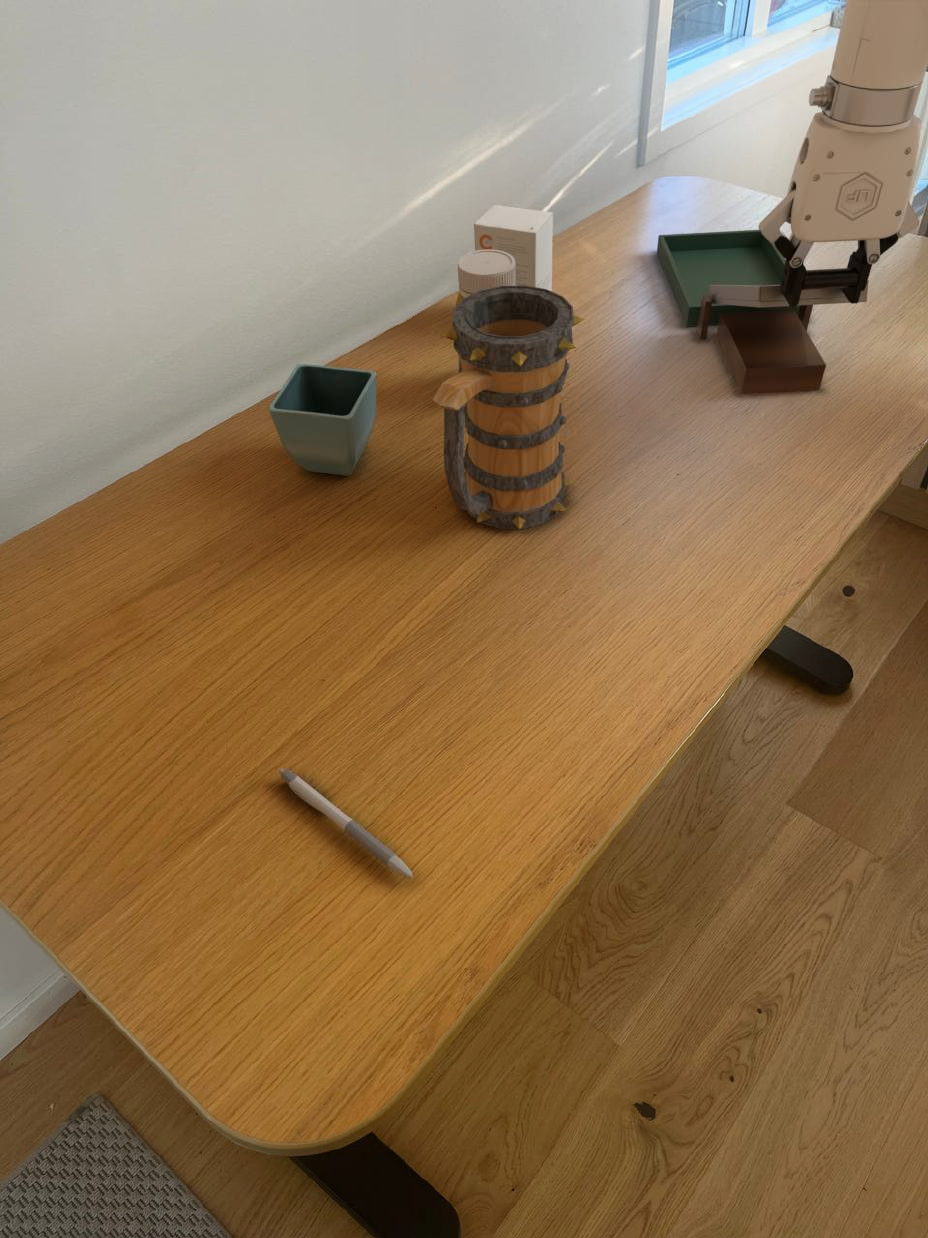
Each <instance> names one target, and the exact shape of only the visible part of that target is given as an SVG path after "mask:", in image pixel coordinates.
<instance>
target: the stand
mask: <svg viewBox="0 0 928 1238" xmlns="http://www.w3.org/2000/svg"><path fill="white" fill-rule="evenodd" d="M711 306H712V300H711V298H710V296H709V294H702V300H701V307H700V313H699V320H698V326H696V334H697V337H698V338H699V340H707V337H708V330H709V326H708V325H709V319H710V313H711ZM813 307H814V305H800V309H799V313H798V316H797V314H796V313H795V311H794V309H790V310H771V311H752V312H734V313H720V317H719V323H718V325H717V328H716V335H715V338H716V340H717V342H718V345H719V347H720V349H721V351H722V353H723V355H724V358H725V360H726V362H727V364H728V367H729V370H730V372H731V373H732V376H733V378H734V380H735V383H736V385H737V387H738V389H739V391H740V394H758V393H759V394H760V393H779V392H781V393H782V392H797V391H798V392H799V391H816V390H820V389H821V385H822V383H823V378H824V375H825V371H826V367H827V364H826V362H825V361H824V358H823V357H822V355H821V354H820V352H819V350H818V349H817V347H816V345H815V343H814V342H813V339H812V338H811V337H810V335H809V333H808V327H809V323H810V320H811V316H812V311H813Z"/></svg>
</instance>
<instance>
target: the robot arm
mask: <svg viewBox="0 0 928 1238" xmlns="http://www.w3.org/2000/svg"><path fill="white" fill-rule="evenodd" d="M927 68H928V0H846V1H845V6H844V11H843V14H842V19H841V24H840V28H839V33H838V37H837V42H836V46H835V51H834V55H833V60H832V64H831V69H830V74H829V75H827V76H826V81H825V83H824V85H821V86H820V87H818V88H817V87H816V88H811V89H810V92H809V95H808V104H809V106H810V107H815V106H816V107H818V108H820V110H821V112H816V113H814V115H813V118H812V120H811V122H810V124H809V126H808V129H807V131H806V133H805V136H804V138H803V141H802V144H801V147H800V149H799V151H798V155H797V158H796V161H795V164H794V167H793V171H792V173H791V174H792V175H791V177H790V181H789V185H788V189H787V192H786V196H785V197H784V198H783V199H782V200H781V201H780V202H778V204H777V205H776V206H775V207H774V208H773V209H772V210H771V211H770V212H769V213H768V214H767V215H766V216H765V217H764V218H763V219H762V220H761V221H760V222H759V224H758V226H757V227H758V230H760V232H761V233H762V235H763V236H764V237H765V238H766V239H767V240H768V241H769V242H770V243H771V244H773V245H774V246H775V247H776V248H777V250H778V251H779V252H780V253H781V255H782V256H783V257H784V258H785V260H786V261H785V266H784V270H783V275H782V279H781V284H780V292H781V294H782V295H784V297H785V299H786V300H787V302H788V304H789V306H790V307H793V306H796V305H798V303H799V299H800V295H801V291H802V287H803V283H804V279H805V274H806V270H807V267H806V266H805V264H804V263H805V259H806V258H807V256H808V254H809V252H810V251H811V249H812V247H813V246H814V244H815V243H834V242H853V241H854V242H856V241H857V249H856V251H855V250H854V251H852V253H851V254H850V255H849V259H848V263H847V266H846V268H856V269H857V271H858V279H857V283H856V285H855V286H854V287H846V288H842V292H843V293H844V295H845V296H846V298H847V299H848V301H849V302H851V303H850V304H852V305H854V304H858V303H859V302H858V301H859V298H860V294H861V291H864V290H865V288H866V285H867V281H869V278H870V275H871V272H872V271H871V270H872V267H873V265H876V264H877V263H878V262H879V261H880V259H881V256H882V255H883V254H885V253H886V252H887V251H889V249H890V248H893V246H895V245H896V244H897V243H898V241H899V239H901V238H904V237H905V236H906V235H908V234H909V233H911V232H912V231H914V230H915V229H916V228H918V226H919V225H920V219H919V217H918V215H917V214H916V211H915V210H914V208H913V206H912V205H911V202H910V197H911V193H912V188H913V183H914V178H915V173H916V168H917V161H918V156H919V149H920V141H921V130H922V120H921V118H919V117H918V116H917V115H915V111H916V107H917V103H918V101H919V96H920V94H921V89H922V86H923V83H924V79H925V75H926V73H927ZM785 223H787V224H789V225H790V230H791V233H790V235H789V237H788V236H786V234H785V233H784V232H783V231H781V227H782V226H783V225H784V224H785Z"/></svg>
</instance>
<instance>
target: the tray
mask: <svg viewBox="0 0 928 1238" xmlns="http://www.w3.org/2000/svg"><path fill="white" fill-rule="evenodd" d="M656 255H657V258H658V261H659V263H660V266H661V268H662V270H663V273H664V276H665V278H666V280H667V283H668V285H669V287H670V290H671V293H672V295H673V298H674V300H675V303H676V305H677V307H678V309H679V312H680V315H681V317H682V320H683V322H684V324H685V327H686V328H692V327H694V328H695V327H697V326H698V320H699V313H700V307H701V300H702V294H709V286H710V285H753V286H767V285H780V284H781V279H782V275H783V270H784V266H785V261H786V259H785V258H784V257H783V256H782V255H781V253H780V252H779V251H778V250H777V248H776V247H775V246H774V245H773V244H771V243H770V242H769V241H768V240H767V239H766V238H765V237H764V236H763V235H762V233H761V232H760V230H759V229H747V230H746V229H745V230H729V231H711V232H707V231H706V232H690V233H689V232H688V233H671V234H658V237H657V248H656ZM790 309H794V311H795V313H796V314H797V316H798V313H799V309H800V306H793V307H790V306H781V307H763V308H759V307H747V306H735V305H724V304H712V306H711V313H710V319H709V325H708V327H712V326H713V327H714V326H718V323H719V317H720V313H734V312H752V311H771V310H790Z"/></svg>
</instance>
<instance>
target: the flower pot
mask: <svg viewBox="0 0 928 1238" xmlns="http://www.w3.org/2000/svg"><path fill="white" fill-rule="evenodd" d="M268 411H269V413H270V417H271V420H272V422H273V425H274V427H275V430H276V432H277V435H278V437H279V440H280V442H281V444H282V447H283V448H284V449H285V451H286V453H287V454H288V455H289V457H290V458H291V459H292V460H293V461H294V462H295V463H296V464H297V465H298V466H300V467H301V468H303V469H304V470H305V471H307V472H311V473H321V474H330V475H338V476H345V477H347V476H350V475H352V474H353V472H354V470H355V468H356V466H357V465H358V462H359V460H360V458H361V457H362V454H363V453H364V451H365V449H366V446H367V444H368V442H369V440H370V437H371V435H372V432H373V430H374V429H373V428H374V426H375V420H376V413H377V372H376V371H374V370H369V369H359V368H357V369H356V368H346V367H337V366H336V367H335V366H326V365H318V364H308V363H298V364H297V365H296V366H294V368H293V370H292V371H291V373H290V375H289V377H288V378H287V379H286V381H285V383H284V384H283V385H282V386H281V388H280V390H279V391H278V392H277V395H276V396H275V398H273V400H272V402H271V403H270V405H268Z"/></svg>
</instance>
